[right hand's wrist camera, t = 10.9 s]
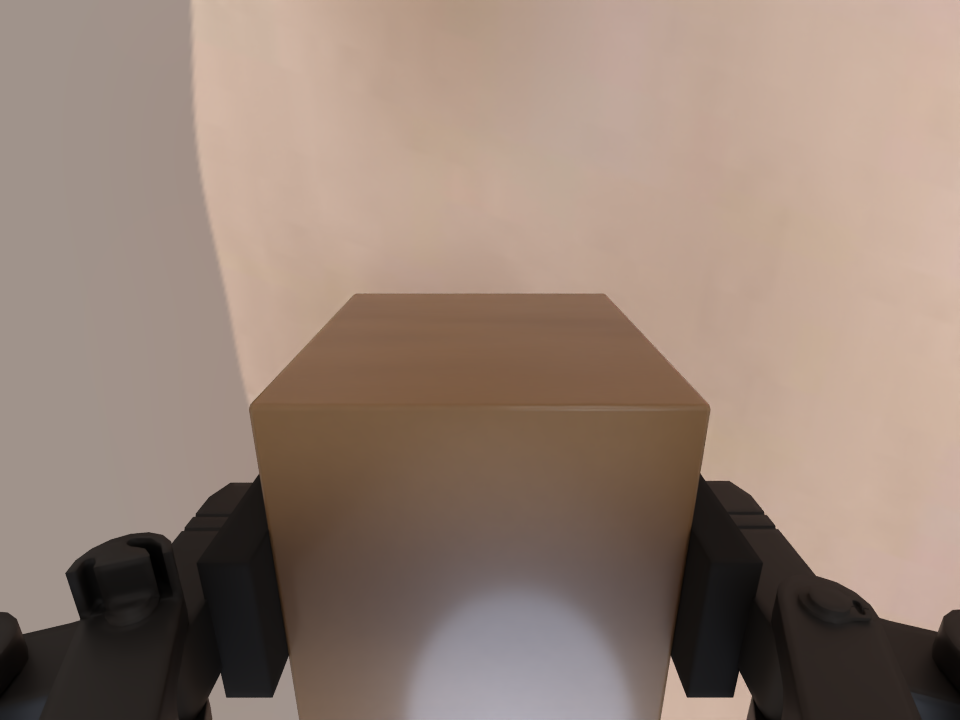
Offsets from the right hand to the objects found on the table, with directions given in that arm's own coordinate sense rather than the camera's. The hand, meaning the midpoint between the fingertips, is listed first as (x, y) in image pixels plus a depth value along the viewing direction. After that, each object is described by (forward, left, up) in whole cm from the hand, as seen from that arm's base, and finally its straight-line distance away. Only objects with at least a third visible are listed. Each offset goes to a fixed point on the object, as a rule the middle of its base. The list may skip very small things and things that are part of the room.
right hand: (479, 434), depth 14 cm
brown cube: (0, 0, -1) cm, 1 cm away
